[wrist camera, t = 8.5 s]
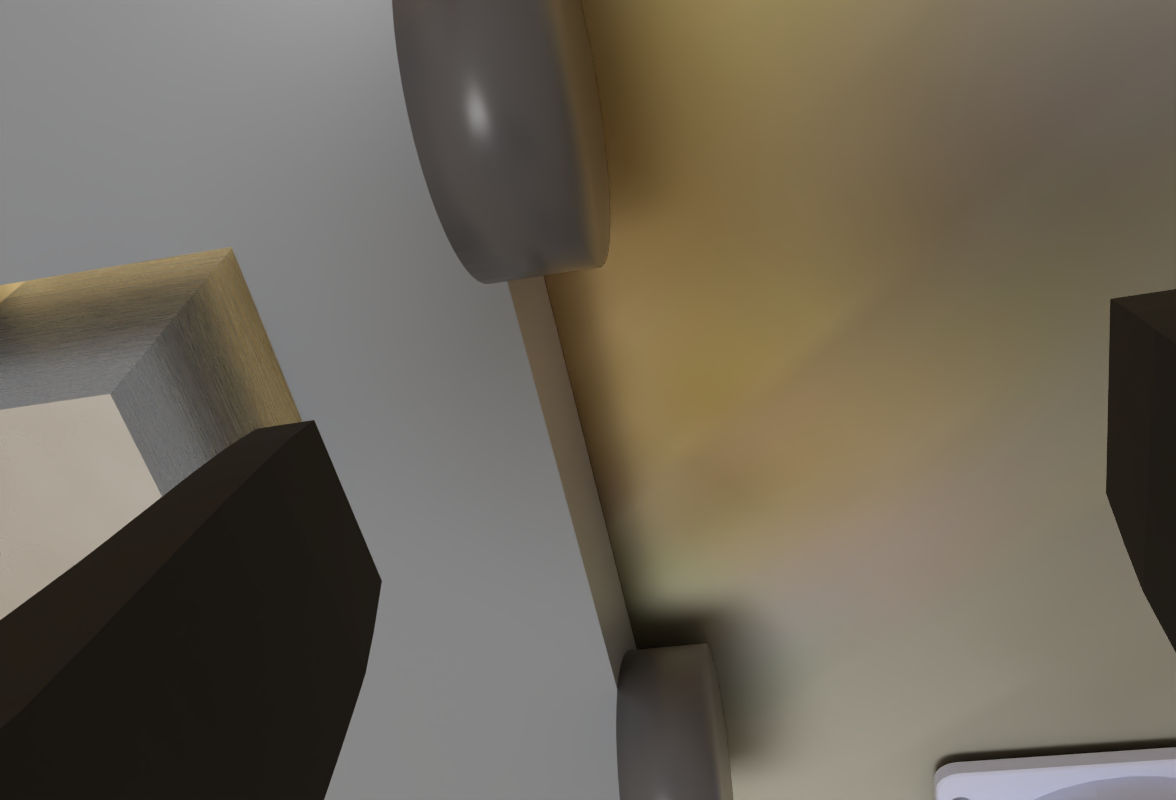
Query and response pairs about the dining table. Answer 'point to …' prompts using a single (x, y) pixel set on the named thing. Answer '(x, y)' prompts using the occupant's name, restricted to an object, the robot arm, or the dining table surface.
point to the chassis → (390, 340)
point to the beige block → (120, 400)
